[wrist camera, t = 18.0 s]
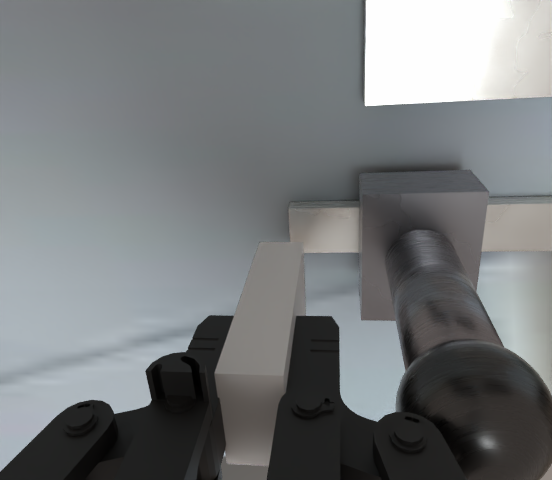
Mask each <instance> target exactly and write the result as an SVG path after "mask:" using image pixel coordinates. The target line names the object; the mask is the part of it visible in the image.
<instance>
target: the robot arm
mask: <svg viewBox="0 0 552 480" xmlns="http://www.w3.org/2000/svg"><path fill="white" fill-rule="evenodd" d="M305 314H306V303H305V275H304V247H303V242H259V245H258V248H257V251H256V254H255V256H254V259H253V262H252V265H251V268H250V271H249V274H248V277H247V280H246V283H245V286H244V288H243V291H242V294H241V297H240V300H239V303H238V306H237V309H236V312H235V315H234V316H215V315H210V316H208V317H207V318H206V319H205V320H204V321H203V322H202V323H200V324H199V325H198V327H197V329H196V331H195V333H194V336H193V340H191V342H190V345H189V347H188V350H187V351H186V352H181V353H172V354H169V355H166V356H163V357H161V358H159V359H158V360H156V361H154V362H153V363H152V364H151V365H150V366H149V367H148V368H147V370H146V375H147V380H148V385H149V389H150V394H151V398H152V401H151V403H150V405H148V406H146V407H143V408H140V409H136V410H132V411H127V412H122V413H117V414H114V412H113V410H112V408H111V407H110V405H109V404H107V403H105V402H103V401H97V400H89V401H84V402H79V403H77V404H75V405H73V406H70V407H68V408H67V409H65V410H64V411H63V412H61V413H60V414H59V415H57V416H56V417H55V418H54V419H53V420H52V421H51V422H50V423H49V424H48V425H47V426H46V427H45V428H44V429H43V430H42V431H41V432H40V433H39V434H38V435H37V436H36V437H35V438H34V439H33V440H32V441H31V442H30V443H29V444H28V445H27V446H26V447H25V448H24V449H23V450H22V451H21V452H20V453H19V454H18V455H17V456H16V457H15V458H14V459H13V460H12V461H11V462H10V463H9V464H8V465H7V466H6V467H5V468H4V469H3V470H2V471H1V472H0V480H222V471H221V463H222V459H223V455H224V451H225V452H226V459H227V464H240V465H257V466H269V468H268V475H267V480H467V479H466V477H465V475H464V473H463V471H462V470H461V468H460V466H459V464H458V463H457V461H456V459H455V457H454V455H453V454H452V452H451V450H450V448H449V446H448V445H447V443H446V441H445V439H444V438H443V436H442V434H441V432H440V431H439V430H438V429H437V428H436V426H435V425H434V424H433V423H432V422H430V421H429V420H427V419H426V418H424V417H422V416H420V415H417V414H413V413H410V412H395V413H392V414H388V415H385V416H384V417H383V418H382V419H380V420H379V421H378V422H376V421H373V420H369V419H366V418H364V417H361V416H359V415H357V414H355V413H354V412H352V411H351V410H350V409H349V408H348V407H347V406H346V405H345V404H344V402H343V400H342V399H341V395H340V370H339V327H338V325H337V324H336V322H335V321H334V319H333V318H332V316H305Z"/></svg>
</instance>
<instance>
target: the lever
mask: <svg viewBox="0 0 552 480" xmlns="http://www.w3.org/2000/svg"><path fill="white" fill-rule="evenodd" d="M488 196H489V191H488V190H487V189H486V188H485V186H484V185H483V184H482V183H481V182H480V181H479V180H478V178H477V177H476V176H475V175H474V174H473V173H472V171H471V170H452V171H418V172H385V173H360V183H359V297H360V310H361V320H391V321H396V324H397V329H398V334H399V339H400V344H401V349H402V355H403V360H404V365H405V370H406V372H405V373H404V375H403V377H402V379H401V382H400V385H399V388H398V391H397V398H396V412H410V413H413V414H417V415H420V416H422V417H424V418H426V419H427V420H429V421H430V422H432V423H433V424H434V425H435V426H436V428H437V429H438V430H439V431H440V432H441V434H442V436H443V438H444V439H445V441H446V443H447V445H448V446H449V448H450V450H451V452H452V454H453V455H454V457H455V459H456V461H457V463H458V464H459V466H460V468H461V470H462V471H463V473H464V475H465V477H466V479H467V480H540V479H541V478H542V477H543V476H544V475H545V473H546V472H547V470H548V469H549V467H550V466H551V464H552V396H551V393H550V391H549V389H548V387H547V386H546V384H545V383H544V381H543V380H542V378H541V377H540V376H539V374H538V373H537V372H536V371H535V370H534V369H533V368H532V367H531V366H530V365H529V364H528V363H527V362H526V361H525V360H523V359H522V358H521V357H519V356H518V355H516V354H515V353H513V352H512V351H510V350H508V349H506V348H504V346H503V344H502V342H501V340H500V338H499V336H498V334H497V332H496V330H495V328H494V326H493V324H492V322H491V320H490V318H489V316H488V314H487V312H486V310H485V308H484V306H483V304H482V302H481V300H480V298H479V296H478V294H477V292H476V289H477V282H478V274H479V266H480V258H481V251H482V243H483V235H484V227H485V220H486V212H487V204H488Z"/></svg>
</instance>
